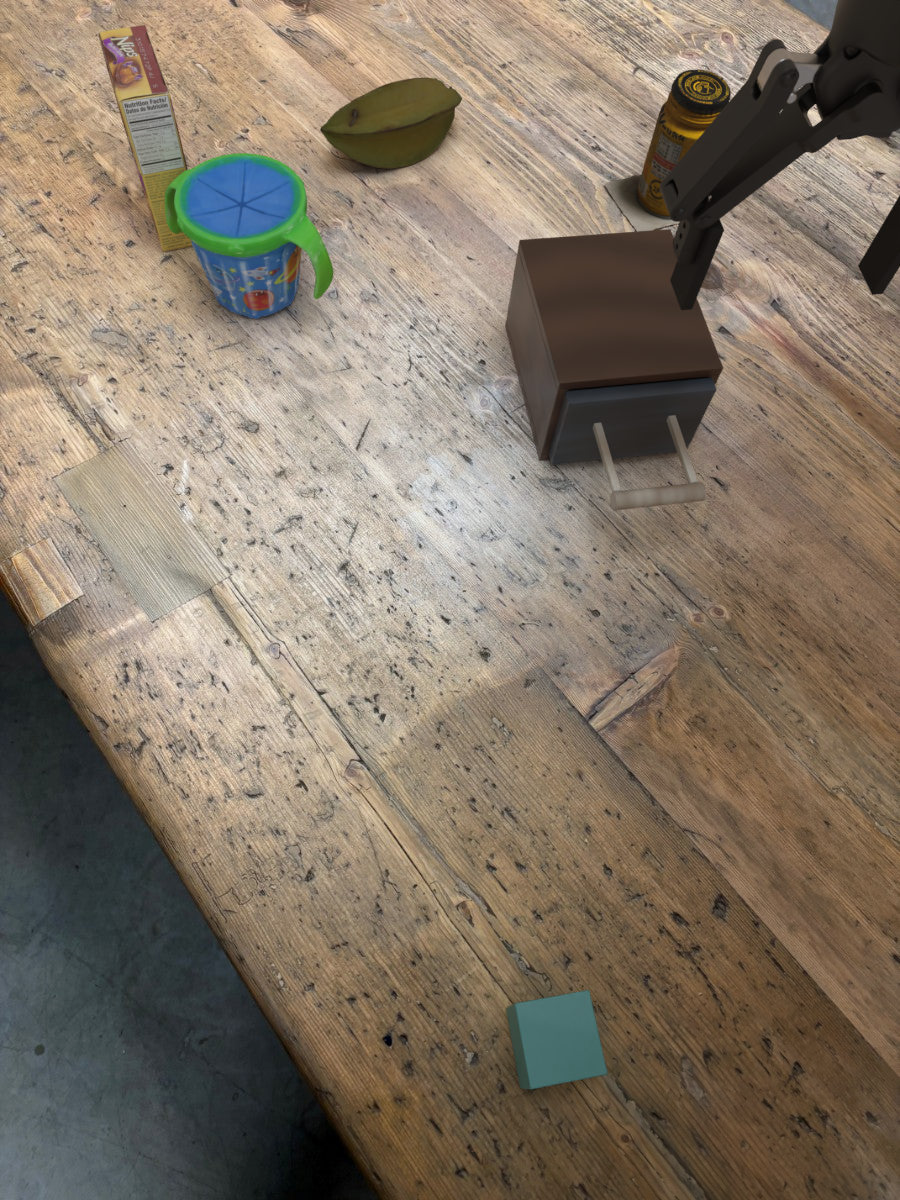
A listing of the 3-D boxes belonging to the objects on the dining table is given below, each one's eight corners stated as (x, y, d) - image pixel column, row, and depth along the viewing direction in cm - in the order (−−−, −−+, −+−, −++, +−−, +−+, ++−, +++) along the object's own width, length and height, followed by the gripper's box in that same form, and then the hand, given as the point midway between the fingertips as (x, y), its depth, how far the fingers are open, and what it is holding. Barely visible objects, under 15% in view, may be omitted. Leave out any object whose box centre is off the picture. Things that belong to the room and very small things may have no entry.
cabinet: (686, 445, 79) (723, 368, 70) (539, 461, 77) (559, 383, 68) (641, 315, 85) (670, 228, 77) (504, 326, 84) (519, 239, 75)
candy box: (139, 189, 88) (95, 28, 75) (184, 181, 89) (149, 21, 76) (158, 254, 85) (116, 98, 71) (206, 245, 86) (173, 89, 72)
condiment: (712, 214, 92) (755, 101, 81) (638, 235, 90) (673, 122, 79) (675, 167, 95) (712, 52, 84) (602, 186, 93) (631, 70, 82)
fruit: (440, 196, 91) (444, 135, 85) (320, 172, 91) (316, 110, 85) (463, 122, 96) (468, 59, 90) (349, 100, 96) (347, 36, 90)
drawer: (713, 530, 74) (748, 473, 67) (572, 546, 72) (593, 490, 65) (644, 328, 83) (668, 259, 76) (518, 338, 82) (530, 269, 75)
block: (592, 1074, 57) (607, 1074, 53) (520, 1088, 56) (530, 1089, 52) (575, 995, 59) (589, 989, 55) (505, 1008, 58) (514, 1003, 54)
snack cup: (149, 283, 83) (121, 187, 74) (228, 219, 87) (210, 120, 78) (285, 368, 80) (273, 277, 71) (361, 296, 84) (358, 203, 75)
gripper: (1142, -101, 47) (924, 235, 66) (673, -91, 44) (585, 259, 63) (1220, -13, 44) (968, 314, 63) (720, 5, 41) (612, 344, 59)
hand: (776, 287), depth 63 cm, fingers open, 13 cm apart
